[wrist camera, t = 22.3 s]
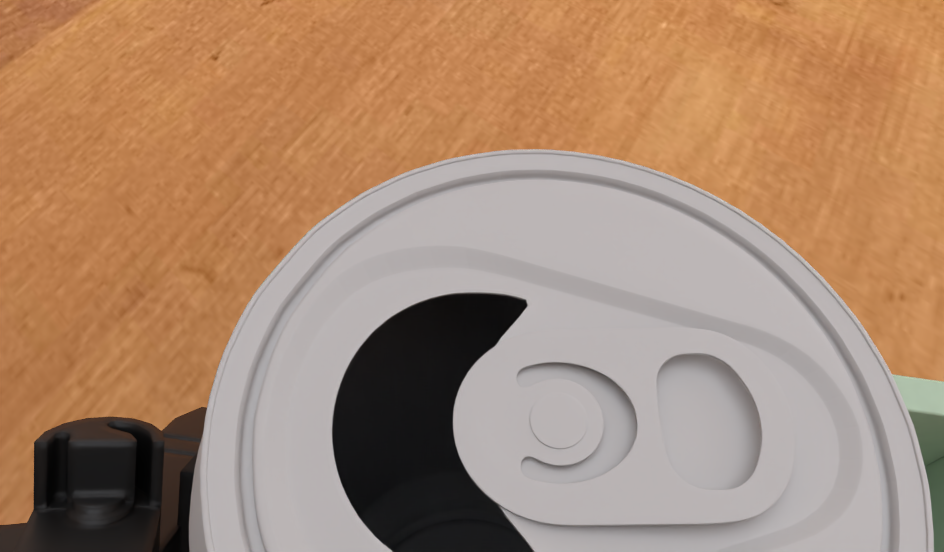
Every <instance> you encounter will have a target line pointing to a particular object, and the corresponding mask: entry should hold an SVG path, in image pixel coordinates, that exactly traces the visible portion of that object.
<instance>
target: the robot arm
mask: <svg viewBox="0 0 944 552" xmlns="http://www.w3.org/2000/svg"><path fill="white" fill-rule="evenodd" d="M206 411H207V408H205V407H201V408H199V409H196V410H194V411H191V412H189V413H187V414H184V415H182V416H180V417H177V418H175V419H174V420H173V421H172V422H171V423H170V424H169V425H168V426H167V427H166V428H164V429H163V430H162V431H161V430H159V429H158V428H156V427H155V426H154V425H152V424H150V423H147V422H143V421H140V420H137V419H132V418H121V417H99V418H86V419H82V420H77V421H73V422H68V423H64V424H62V425H59V426H57V427H55V428H52V429H50V430H48V431H46V432H44V433H43V434H42V435H41V436H40V437H39V438H38V439H37V440H36V441H35V442H34V510H33V512H32V514H31V516H30V518H29V520H28V522H27V523H21V524H11V525H0V552H190V550H189V516H190V503H191V492H192V485H193V477H194V469H195V464H196V459H197V455H198V450H199V446H200V443H201V439H202V436H203V431H204V423H205V416H206Z"/></svg>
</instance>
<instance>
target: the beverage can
mask: <svg viewBox="0 0 944 552" xmlns="http://www.w3.org/2000/svg"><path fill="white" fill-rule="evenodd" d="M189 550H190V552H934V532H933V520H932V508H931V498H930V490H929V484H928V479H927V474H926V470H925V466H924V462H923V458H922V454H921V450H920V446H919V442H918V438H917V435H916V432H915V428H914V425H913V423H912V420H911V418H910V415H909V412H908V410H907V408H906V405H905V403H904V401H903V398H902V396H901V394H900V391H899V389H898V387H897V384H896V382H895V380H894V378H893V376H892V374H891V372H890V370H889V368H888V366H887V365H886V363H885V361H884V359H883V358H882V356H881V354H880V353H879V351H878V349H877V348H876V346H875V345H874V343H873V341H872V340H871V338H870V337H869V335H868V333H867V332H866V330H865V329H864V327H863V326H862V325H861V323H860V322H859V320H858V319H857V317H856V316H855V315H854V314H853V312H852V311H851V310H850V309H849V307H848V306H847V305H846V304H845V302H844V301H843V300H842V299H841V298H840V296H839V295H838V294H837V293H836V292H835V291H834V290H833V289H832V287H831V286H830V285H829V284H828V283H827V282H826V281H825V280H824V278H823V277H822V276H821V275H820V274H819V273H818V272H817V271H816V270H815V269H814V268H813V267H812V266H810V265H809V264H808V263H807V262H806V261H805V260H804V259H803V258H802V257H801V256H800V255H799V254H798V253H796V252H795V251H794V250H793V249H792V248H791V247H790V246H788V245H787V244H786V243H785V242H784V241H783V240H781V239H780V238H779V237H777V236H776V235H775V234H773V233H772V232H771V231H769V230H768V229H767V228H766V227H764V226H763V225H762V224H760V223H759V222H757V221H756V220H754V219H753V218H751V217H750V216H748V215H747V214H745V213H744V212H742V211H740V210H739V209H737V208H735V207H734V206H732V205H730V204H728V203H727V202H725V201H723V200H722V199H720V198H718V197H716V196H714V195H712V194H710V193H708V192H706V191H704V190H702V189H700V188H698V187H696V186H694V185H692V184H689V183H687V182H685V181H682V180H680V179H677V178H675V177H673V176H670V175H667V174H665V173H662V172H659V171H656V170H653V169H650V168H647V167H644V166H640V165H637V164H633V163H629V162H626V161H622V160H618V159H613V158H608V157H603V156H598V155H592V154H585V153H578V152H570V151H559V150H539V149H531V150H504V151H493V152H486V153H479V154H473V155H467V156H462V157H456V158H452V159H448V160H444V161H440V162H436V163H433V164H430V165H427V166H424V167H420V168H417V169H414V170H411V171H408V172H406V173H403V174H401V175H398V176H396V177H394V178H392V179H390V180H388V181H386V182H383V183H381V184H379V185H377V186H375V187H373V188H371V189H369V190H367V191H365V192H363V193H362V194H360V195H358V196H356V197H355V198H353V199H352V200H350V201H349V202H347V203H346V204H344V205H343V206H341V207H340V208H338V209H337V210H336V211H334V212H333V213H331V214H330V215H328V216H327V217H326V218H324V219H323V220H322V221H320V222H319V223H318V224H317V225H315V226H314V227H313V228H312V229H311V230H310V231H309V232H308V233H307V234H306V235H305V236H304V237H303V238H302V239H301V240H300V241H299V242H298V243H297V244H296V245H295V246H294V247H293V248H292V250H291V251H290V252H289V253H288V254H287V255H286V256H285V257H284V259H283V260H282V261H281V262H280V263H279V264H278V265H277V267H276V268H275V269H274V270H273V271H272V272H271V274H270V275H269V276H268V277H267V278H266V280H265V281H264V282H263V283H262V285H261V286H260V287H259V288H258V290H257V291H256V292H255V294H254V295H253V297H252V298H251V300H250V301H249V303H248V305H247V306H246V308H245V310H244V312H243V314H242V316H241V317H240V319H239V321H238V323H237V325H236V327H235V329H234V331H233V333H232V335H231V338H230V340H229V342H228V344H227V346H226V348H225V350H224V353H223V356H222V358H221V361H220V364H219V366H218V369H217V373H216V376H215V380H214V383H213V387H212V390H211V393H210V397H209V402H208V406H207V411H206V416H205V423H204V431H203V436H202V439H201V443H200V446H199V450H198V455H197V459H196V464H195V469H194V477H193V485H192V492H191V503H190V516H189Z"/></svg>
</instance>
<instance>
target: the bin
mask: <svg viewBox="0 0 944 552" xmlns="http://www.w3.org/2000/svg"><path fill="white" fill-rule="evenodd" d="M892 376H893V378H894V380H895V382H896V384H897V387H898V389H899V391H900V394H901V396H902V398H903V401H904V403H905V405H906V408H907V410H908V412H909V415H910V418H911V420H912V423H913V425H914V428H915V432H916V435H917V438H918V442H919V446H920V450H921V454H922V458H923V462H924V466H925V470H926V474H927V479H928V484H929V490H930V498H931V508H932V520H933V532H934V552H944V382H942V381H935V380H928V379H921V378H914V377H907V376H900V375H893V374H892Z"/></svg>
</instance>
